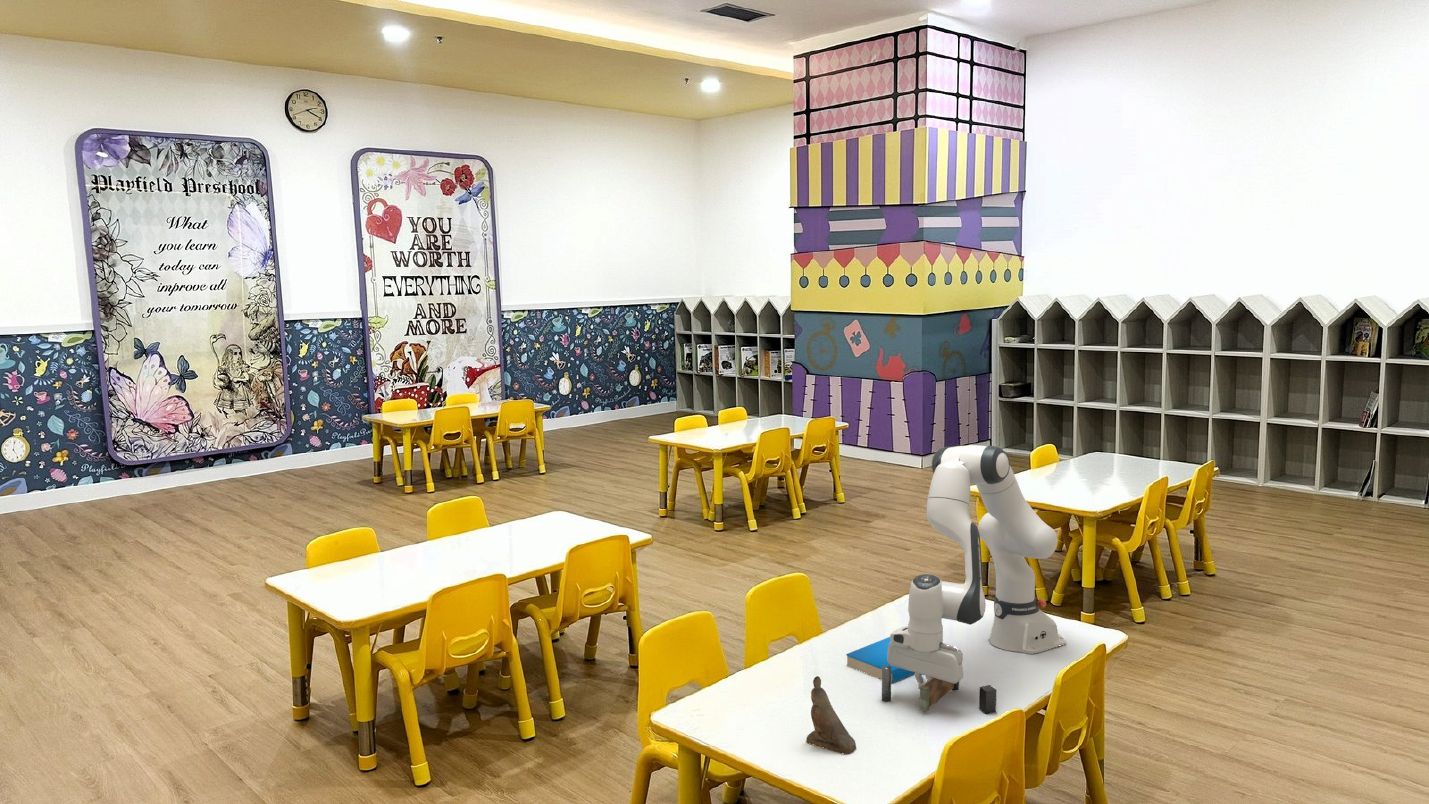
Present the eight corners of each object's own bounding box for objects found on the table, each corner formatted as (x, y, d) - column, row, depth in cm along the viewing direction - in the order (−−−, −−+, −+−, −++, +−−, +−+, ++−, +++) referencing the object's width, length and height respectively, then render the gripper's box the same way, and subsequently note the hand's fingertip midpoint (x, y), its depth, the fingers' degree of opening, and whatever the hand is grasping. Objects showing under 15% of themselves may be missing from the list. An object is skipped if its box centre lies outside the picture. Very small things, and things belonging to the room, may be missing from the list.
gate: (948, 686, 259) (949, 665, 258) (955, 688, 258) (955, 666, 257) (919, 709, 246) (920, 687, 245) (926, 711, 245) (926, 688, 244)
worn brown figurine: (806, 752, 232) (791, 679, 232) (818, 743, 236) (804, 671, 236) (848, 757, 225) (833, 681, 224) (860, 747, 229) (845, 673, 229)
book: (845, 654, 275) (900, 630, 292) (845, 668, 276) (900, 644, 292) (893, 672, 263) (948, 646, 279) (893, 687, 263) (948, 660, 280)
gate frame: (960, 685, 262) (960, 654, 260) (995, 712, 246) (996, 678, 245) (880, 699, 254) (880, 666, 253) (911, 727, 239) (912, 692, 237)
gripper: (968, 644, 245) (966, 696, 247) (896, 626, 258) (895, 675, 260) (956, 652, 240) (955, 705, 242) (884, 633, 253) (883, 683, 255)
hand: (924, 689), depth 251 cm, fingers closed
